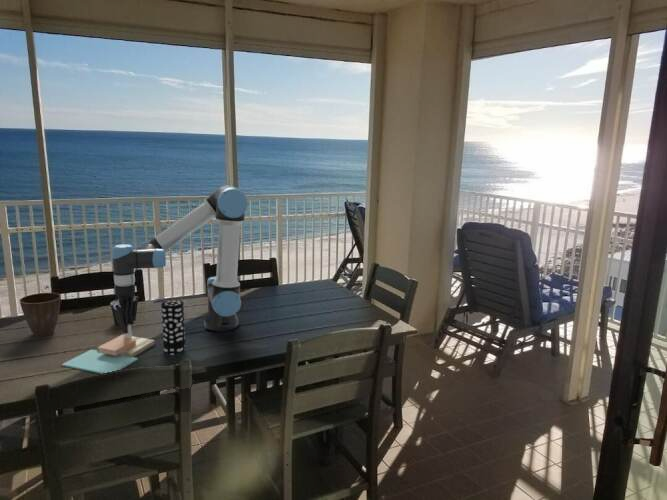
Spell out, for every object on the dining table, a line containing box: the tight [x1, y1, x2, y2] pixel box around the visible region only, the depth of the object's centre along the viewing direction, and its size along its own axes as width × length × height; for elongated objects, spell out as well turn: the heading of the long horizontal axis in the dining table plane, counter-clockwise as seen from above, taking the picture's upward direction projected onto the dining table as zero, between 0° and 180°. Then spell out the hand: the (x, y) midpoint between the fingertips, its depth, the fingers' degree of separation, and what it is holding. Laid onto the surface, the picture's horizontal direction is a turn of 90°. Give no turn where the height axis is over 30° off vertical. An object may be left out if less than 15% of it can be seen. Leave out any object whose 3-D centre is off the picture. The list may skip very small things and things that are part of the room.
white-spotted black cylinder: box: [160, 299, 186, 356], centre depth 190 cm, size 8×8×20 cm
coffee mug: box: [110, 300, 121, 327], centre depth 220 cm, size 12×9×10 cm
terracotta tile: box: [98, 336, 136, 356], centre depth 188 cm, size 8×11×2 cm
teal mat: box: [61, 349, 139, 375], centre depth 180 cm, size 22×14×1 cm, turn 72°
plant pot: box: [19, 292, 62, 337], centre depth 204 cm, size 15×15×16 cm
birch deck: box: [96, 334, 156, 358], centre depth 193 cm, size 16×14×2 cm
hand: (128, 339), depth 194 cm, fingers closed
